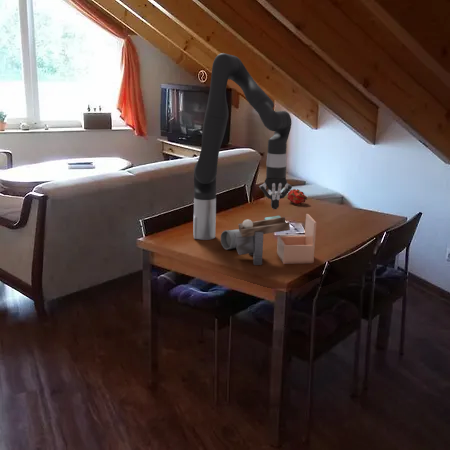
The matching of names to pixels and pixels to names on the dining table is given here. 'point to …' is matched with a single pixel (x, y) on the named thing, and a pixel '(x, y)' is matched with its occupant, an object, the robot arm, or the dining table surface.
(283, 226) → the lever board
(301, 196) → the dragon fruit
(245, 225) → the ball
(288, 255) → the cup
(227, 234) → the ceramic mug
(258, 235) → the pivot stand
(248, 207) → the dining table surface
